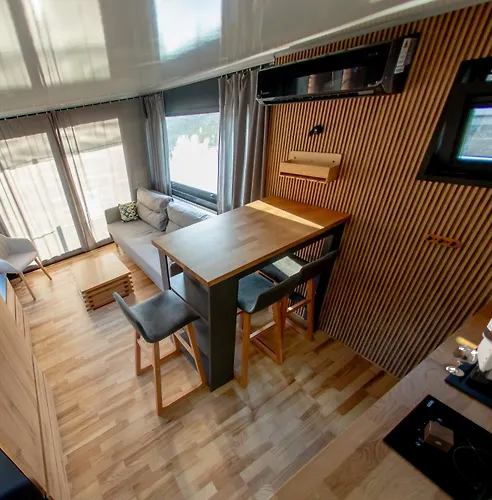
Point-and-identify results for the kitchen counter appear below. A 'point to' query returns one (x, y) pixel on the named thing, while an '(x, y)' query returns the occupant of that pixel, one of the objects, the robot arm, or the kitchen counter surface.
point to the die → (438, 436)
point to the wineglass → (463, 359)
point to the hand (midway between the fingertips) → (478, 379)
